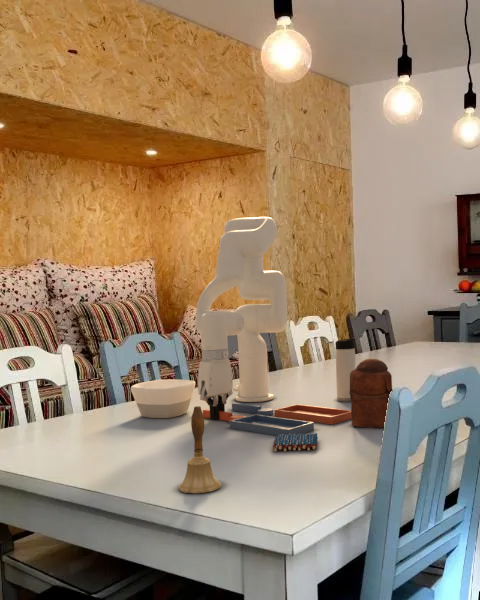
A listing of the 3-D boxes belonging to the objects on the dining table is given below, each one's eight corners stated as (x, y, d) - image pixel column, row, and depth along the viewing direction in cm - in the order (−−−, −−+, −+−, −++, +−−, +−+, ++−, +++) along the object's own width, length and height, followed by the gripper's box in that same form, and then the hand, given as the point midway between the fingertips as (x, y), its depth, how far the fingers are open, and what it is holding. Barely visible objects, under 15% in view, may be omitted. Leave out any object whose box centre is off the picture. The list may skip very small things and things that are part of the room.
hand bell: (180, 482, 146) (177, 404, 145) (221, 480, 146) (218, 402, 146) (176, 495, 138) (173, 412, 137) (220, 492, 138) (217, 409, 138)
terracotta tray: (274, 416, 210) (274, 409, 210) (297, 410, 218) (296, 404, 218) (332, 424, 196) (331, 417, 196) (354, 417, 204) (354, 410, 204)
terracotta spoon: (198, 418, 212) (198, 410, 211) (210, 415, 215) (210, 408, 215) (236, 423, 201) (236, 416, 201) (248, 421, 205) (247, 413, 205)
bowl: (205, 410, 223) (204, 380, 223) (172, 422, 207) (170, 389, 207) (158, 407, 231) (156, 378, 230) (122, 418, 215) (120, 387, 214)
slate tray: (229, 428, 196) (229, 420, 196) (255, 421, 204) (255, 414, 204) (288, 437, 183) (288, 429, 183) (314, 429, 190) (313, 422, 190)
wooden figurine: (396, 423, 194) (394, 357, 194) (392, 429, 188) (390, 360, 187) (352, 422, 197) (350, 357, 197) (348, 428, 191) (346, 360, 191)
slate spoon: (228, 411, 221) (228, 404, 221) (239, 408, 224) (238, 401, 224) (265, 416, 211) (265, 409, 211) (276, 413, 214) (276, 406, 214)
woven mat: (275, 441, 179) (274, 433, 179) (318, 440, 178) (317, 432, 178) (272, 452, 168) (271, 443, 168) (317, 450, 168) (317, 442, 168)
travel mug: (356, 401, 229) (354, 338, 228) (335, 401, 230) (333, 339, 230) (358, 398, 235) (356, 337, 234) (338, 398, 237) (336, 337, 236)
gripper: (225, 352, 217) (228, 412, 218) (185, 357, 205) (188, 422, 206) (243, 353, 213) (245, 415, 213) (203, 359, 201) (206, 425, 201)
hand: (217, 418), depth 210 cm, fingers closed on terracotta spoon, 1 cm apart
